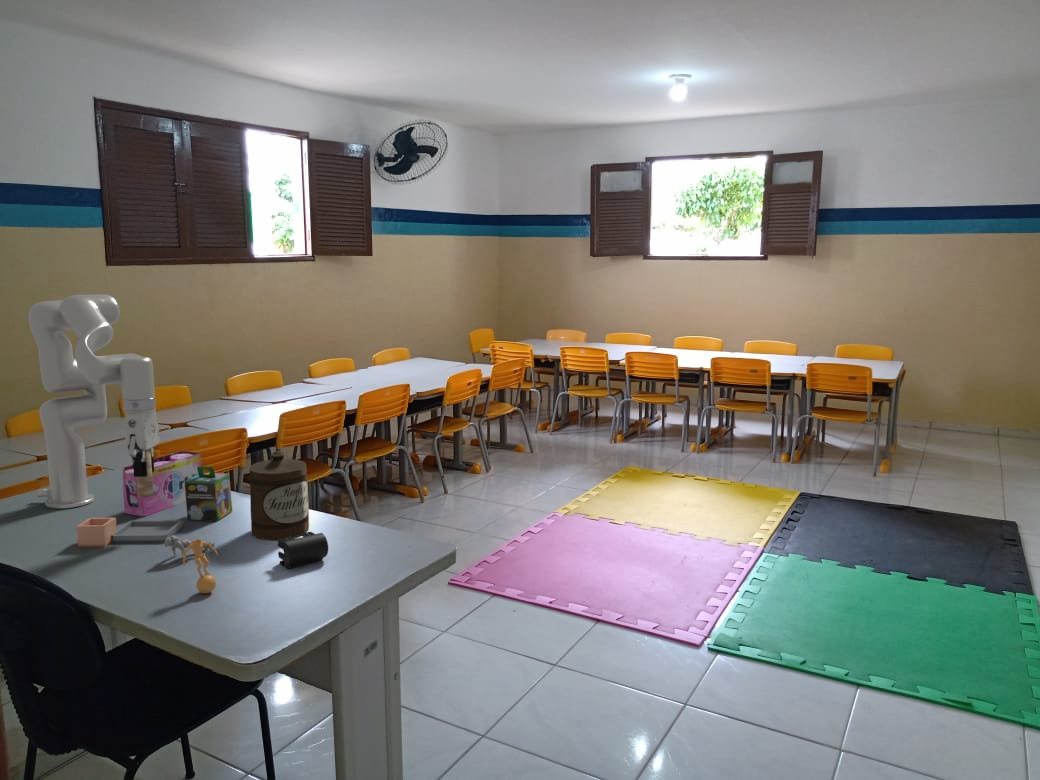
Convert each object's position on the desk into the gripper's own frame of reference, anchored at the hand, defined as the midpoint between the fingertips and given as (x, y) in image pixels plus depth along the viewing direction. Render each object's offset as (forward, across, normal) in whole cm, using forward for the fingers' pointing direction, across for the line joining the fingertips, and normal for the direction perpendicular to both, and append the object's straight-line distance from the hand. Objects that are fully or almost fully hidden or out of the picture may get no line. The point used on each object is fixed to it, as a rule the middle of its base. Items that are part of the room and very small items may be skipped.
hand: (144, 473), depth 202 cm
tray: (+17, 0, 0) cm, 17 cm away
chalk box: (+17, +15, -11) cm, 25 cm away
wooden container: (+17, +2, -34) cm, 38 cm away
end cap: (+17, -21, -45) cm, 52 cm away
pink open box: (+17, -6, +10) cm, 20 cm away
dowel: (+6, 0, 0) cm, 6 cm away
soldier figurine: (+17, -16, -16) cm, 28 cm away
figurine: (+17, -37, -27) cm, 49 cm away
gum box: (+17, +26, +6) cm, 32 cm away
